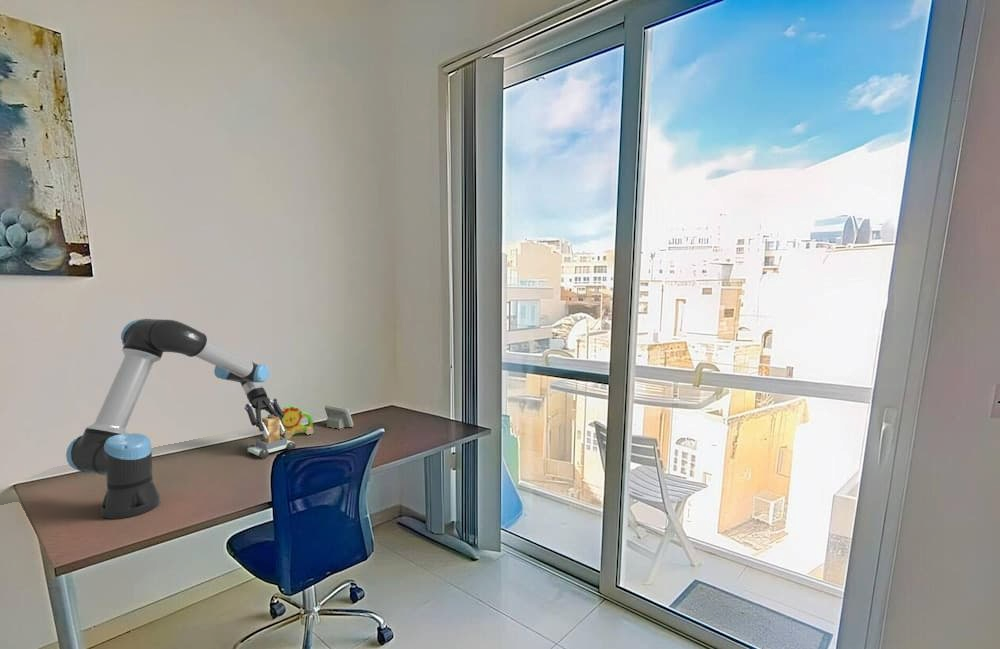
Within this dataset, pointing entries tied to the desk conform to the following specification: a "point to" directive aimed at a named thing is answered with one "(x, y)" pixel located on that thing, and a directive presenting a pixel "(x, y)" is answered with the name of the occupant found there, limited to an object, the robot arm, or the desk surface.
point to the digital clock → (338, 417)
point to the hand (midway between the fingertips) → (275, 434)
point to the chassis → (269, 447)
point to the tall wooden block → (272, 428)
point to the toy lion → (295, 422)
